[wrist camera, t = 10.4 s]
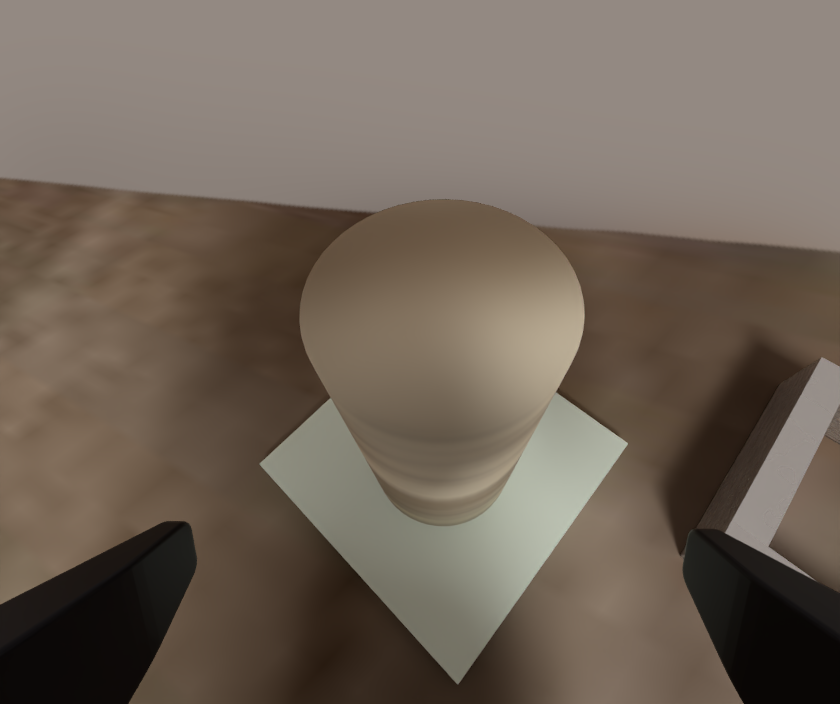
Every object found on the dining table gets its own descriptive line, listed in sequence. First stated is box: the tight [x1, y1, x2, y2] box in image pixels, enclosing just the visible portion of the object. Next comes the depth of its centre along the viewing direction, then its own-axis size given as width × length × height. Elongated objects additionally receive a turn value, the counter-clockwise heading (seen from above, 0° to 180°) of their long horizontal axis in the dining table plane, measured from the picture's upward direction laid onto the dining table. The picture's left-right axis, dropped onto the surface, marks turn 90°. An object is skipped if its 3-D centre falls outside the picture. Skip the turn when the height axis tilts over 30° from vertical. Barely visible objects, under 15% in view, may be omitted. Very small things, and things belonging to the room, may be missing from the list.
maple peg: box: [299, 199, 585, 526], centre depth 13 cm, size 6×6×11 cm
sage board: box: [260, 393, 628, 685], centre depth 18 cm, size 11×11×1 cm
